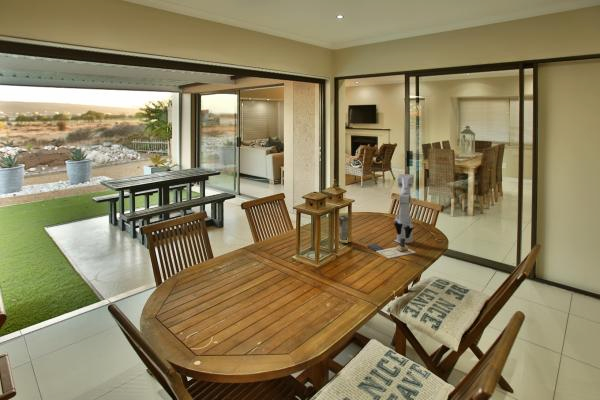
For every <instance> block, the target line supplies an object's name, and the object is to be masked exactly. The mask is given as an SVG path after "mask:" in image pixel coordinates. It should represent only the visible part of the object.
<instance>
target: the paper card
mask: <svg viewBox="0 0 600 400" xmlns="http://www.w3.org/2000/svg"><path fill="white" fill-rule="evenodd" d="M375 253H377V254H379V255H382V256H383V257H385V258H387V259H392V258H397V257H402V256H408V255H412V254H416V253H417V252H415V251H414V250H412V249H410V248H408V251H404V252H400V251H398V250H397V246H396V247H390V248H389V247H388V248H386V249H384V248H383V249H381V250H376V251H375Z"/></svg>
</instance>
